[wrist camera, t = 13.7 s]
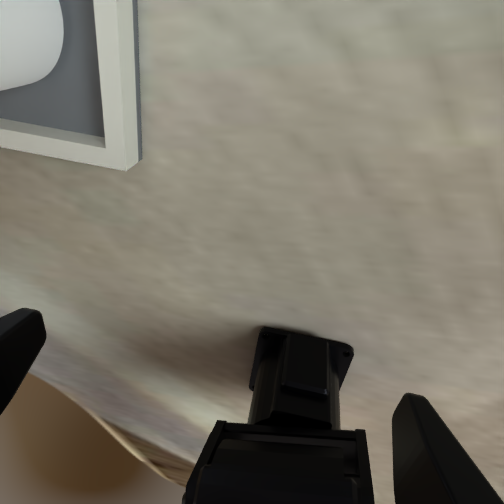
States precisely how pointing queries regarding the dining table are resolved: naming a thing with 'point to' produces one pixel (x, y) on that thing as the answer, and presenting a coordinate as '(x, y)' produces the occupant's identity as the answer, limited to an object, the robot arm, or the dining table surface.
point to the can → (29, 40)
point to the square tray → (83, 91)
